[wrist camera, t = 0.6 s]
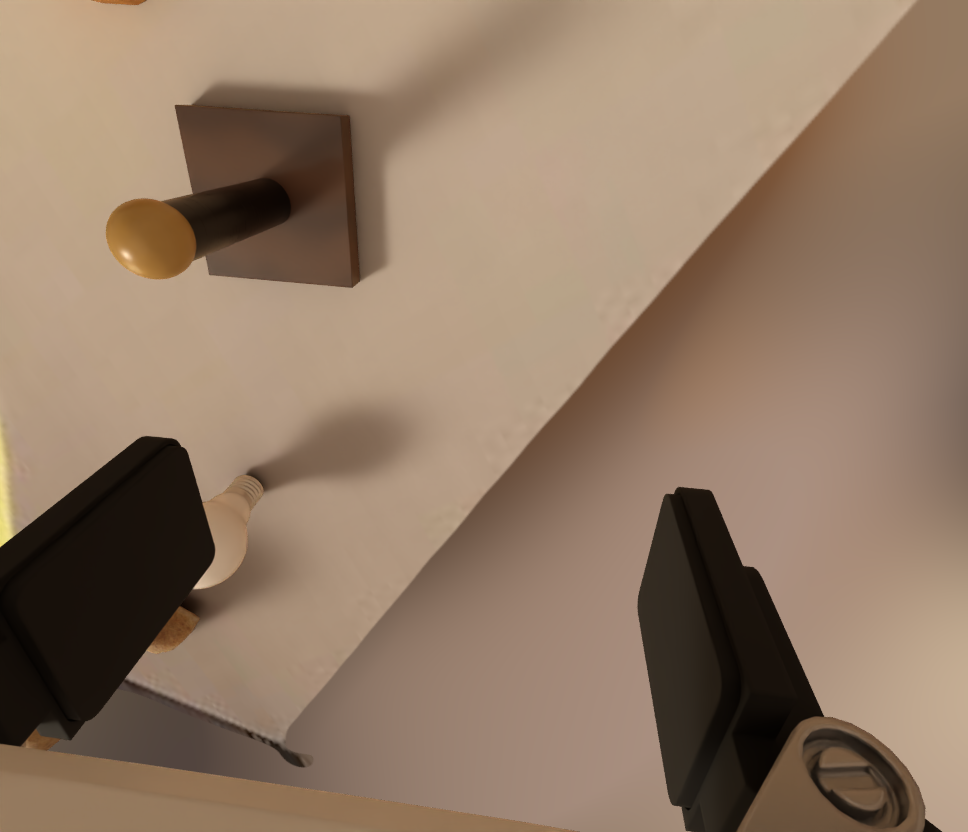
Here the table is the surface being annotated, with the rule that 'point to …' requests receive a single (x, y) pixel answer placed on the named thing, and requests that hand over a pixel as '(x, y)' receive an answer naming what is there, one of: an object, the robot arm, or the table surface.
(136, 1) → the tape roll
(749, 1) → the table surface
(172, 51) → the table surface
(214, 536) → the lightbulb
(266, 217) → the hook peg
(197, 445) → the table surface
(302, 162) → the hook base
